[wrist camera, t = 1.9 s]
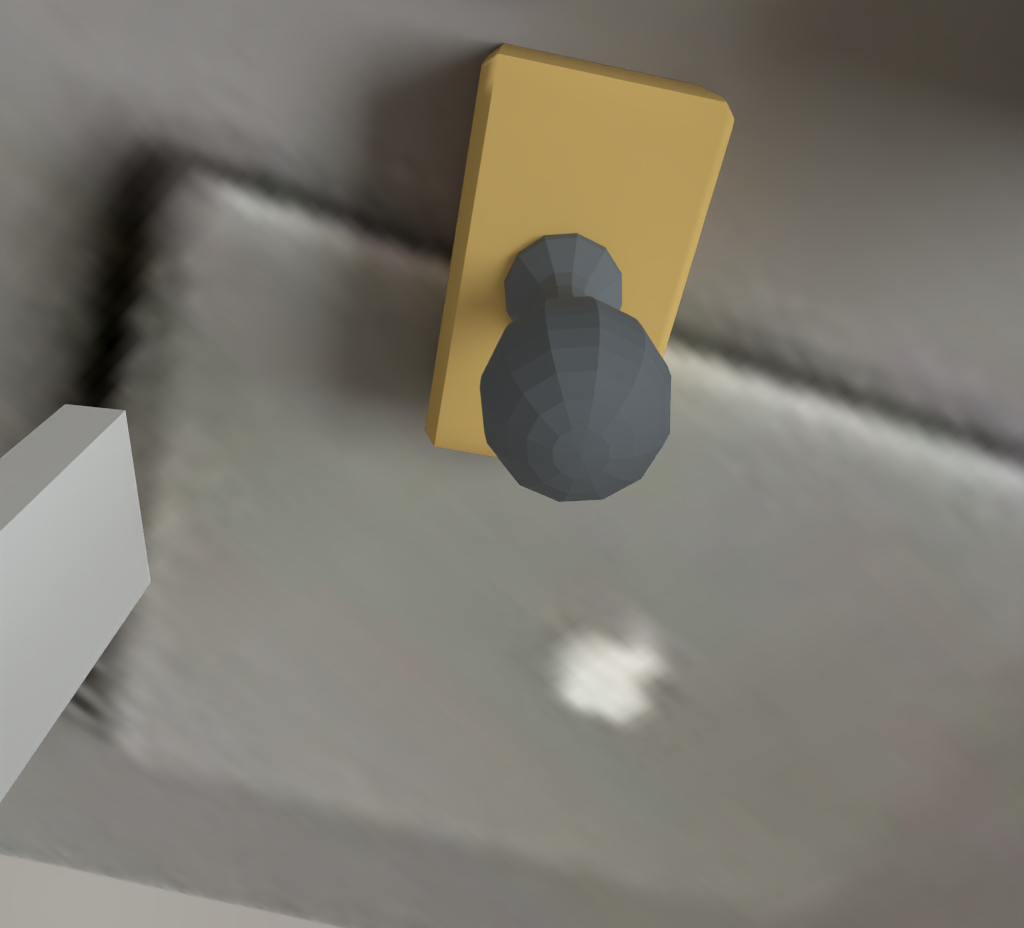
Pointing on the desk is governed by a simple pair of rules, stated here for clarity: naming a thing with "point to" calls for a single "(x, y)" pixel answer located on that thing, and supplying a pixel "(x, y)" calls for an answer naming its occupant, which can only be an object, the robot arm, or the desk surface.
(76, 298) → the desk surface
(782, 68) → the desk surface
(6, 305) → the desk surface
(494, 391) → the rubber stamp
